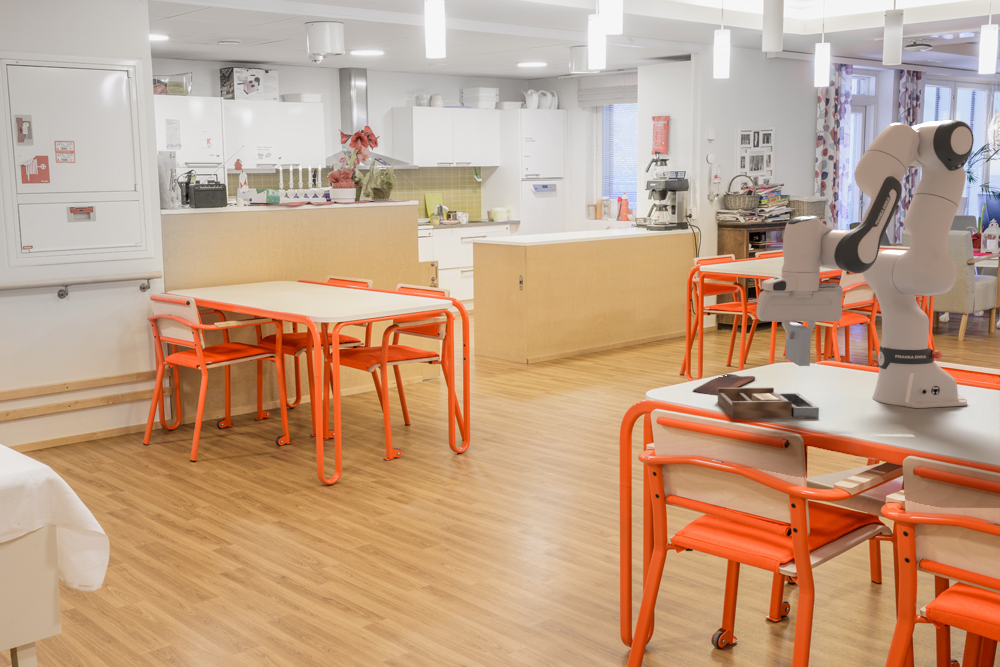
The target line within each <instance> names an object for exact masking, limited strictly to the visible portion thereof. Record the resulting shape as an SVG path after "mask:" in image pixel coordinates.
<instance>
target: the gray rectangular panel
mask: <svg viewBox="0 0 1000 667" xmlns="http://www.w3.org/2000/svg"><path fill="white" fill-rule="evenodd" d="M788 328H789V330H790V331H791V332H794V339H786V338H785V351H784V352H785V354H784V355H785V356H784V358H785V359H787V360H788V361H790V362H792V363H794V364H795V365H797V366H799V367H810V366H811V361H810V360H811V347H812V346H811V343H812V340H811V339H812V331H811V329H810V328H808V326H805V325H803V324H801V323H798V321H790V326H788Z"/></svg>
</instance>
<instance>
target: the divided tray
mask: <svg viewBox="0 0 1000 667" xmlns="http://www.w3.org/2000/svg"><path fill="white" fill-rule="evenodd" d="M774 389H775V387H737V388H718V395H717V403H718V405H719V406H721V407H722V409H723V410H724V409H725V410H726V411H725V410H724V411H725V412H726V413H727V414H728V415H729V416H730V418H731V419H792V417H791V413H792V404H793V403H792V402H791V401H785V400H783V399H782V398H781V397H779V396H778V395H777V394H776V393H777V392H774V391H775V390H774ZM762 393H770V394H771V395H773V396H775V397H776V398H778V399H780V401H752V394H762Z"/></svg>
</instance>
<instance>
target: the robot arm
mask: <svg viewBox="0 0 1000 667" xmlns="http://www.w3.org/2000/svg"><path fill="white" fill-rule="evenodd" d="M974 142H975V141H974V134H973V130H972V128H971V127H970V125H969V124H968V123H966V122H964V121H962V120H956V119H947V120H935V121H927V122H926V121H925V122H923V123H919V124H915V125H909V124H906V123H904V122H903V123H902V122H893V123H891V124H888V125H887V126H885V128H883V129H882V130H881V131H880V133H878V134H877V135H876V137H875V138H874V139H873V141H871V143H870V145H869V146H868V147H867V149H866V150H865V152H864V153H863V155H862V156H861V158H860V159H859V161H858V163H857V164H856V165H857V166H856V167H855V170H854V180H855V183H856V185H857V187H858V188H859V190H860V191H861V192H862V193H863V194H864V195H866V196H867V197H868V198H871V200H870V202H869V205H868V207H867V209H866V211H865V213H864V216H863V217H862V220H861V221H860V223H859V225H857V226H856V227H855V228H853V229H852V228H851V229H849V230H847V229H845V230H843V229H836V228H835V229H834V228H833V227H830V226H828V225H827V224H825V223H824V222H823V221H821V220H820V218H819V216H816V215H804V216H802V215H801V216H795V217H793V218H791V219H789V220H788V221H787V222H786V224H785V227H784V231H783V239H782V240H783V241H782V256H783V257H782V258H783V263H782V264H783V265H782V268H781V274H780V275H777V276H774V277H772V278H768V279H765V280H763V281H762V282H761V288H762V289H763V290H761V292H760V293H759V295H758V298H757V304H756V312H755V314H756V315H755V316H756V318H757V319H758V320H759V321H761V322H781V326H782V328H783V329H784V331H785V340H786V339H794V332H791V331H790V330H789V328H788V326H790V322H807V323H806V325H808V326H807V327H808V328H810V329H811V332H813V330H814V328H815V327H816V323H817V322H839V321H840V320H841V319H842V318H843V305H842V298H843V295H844V294H843V292H844V290H843V287H842V286H841V285H839V284H838V283H836V282H830V283H829V282H828V283H827V282H820V276H821V275H820V272H821V269H820V268H825V269H831V270H839V271H840V270H841V271H845V272H848V273H854V274H861V273H862V275H863V280H864V281H865V282H866V284H867V285H868V286H869V287H870V289H872V290H873V293H874V295H875V296H876V299H877V303H878V305H879V309H880V313H881V344H880V346H879V350H878V367H879V370H878V376H877V381H876V384H875V388H874V392H873V394H872V396H871V398H872V400H873V401H876V402H879V403H883V404H886V405H887V404H888V405H893V406H894V405H895V406H901V407H902V406H903V407H907V408H913V409H925V408H928V409H929V408H939V407H940V408H942V407H945V408H946V407H962V406H963V407H964V406H967V405H968V400H967V399H966V398H965V397H963V396H961V395H959V392H958V384H957V382H956V381H957V380H956V379H955V378H954V377H953V376H952V375H951V374H950V373H948V372H947V371H946V370H945V369H943V368H942V367H941V366H940V365H938V364H937V363H936V362H935V359H937V360H940V359H941V358H942V357H943V352H941V351H940V350H937V349H935V350H933V349H932V348H930V347H929V333H930V319H929V316H928V315H927V313H926V312H925V311H924V310H922V309H921V308H920V305H919V304H918V302H917V299H916V295H917V296H924V297H929V296H930V297H931V296H936V295H937V296H938V295H944V294H946V293H948V292H950V291H951V290H952V289H953V287H954V286H955V284H956V282H957V279H958V268H957V265H956V263H955V261H954V259H952V258H951V255H950V253H949V248H948V244H949V243H948V242H949V237H950V236H949V235H950V231H951V228H952V225H953V222H954V219H955V216H956V214H957V211H958V208H959V206H960V203H961V201H962V197H963V193H964V189H965V185H966V177H967V175H966V170H965V169H964V167H963V166H964V165H965V164H966V163H967V162H968V160H969V157H970V156H971V152H972V149H973V147H974ZM914 167H917V168H920V170H921V176H920V177H921V179H920V181H919V182H918V184H917V186H916V188H915V190H914V193H913V196H912V198H911V200H910V204H909V207H908V209H907V210H906V211H907V212H906V214H905V216H904V220H903V227H904V230H905V231H906V233H907V234H908V235H909V236H910V246H909V248H908V249H907V250H903V249H901V250H899V249H886V250H880V247H881V245H882V241H883V238H884V237H885V236H884V235H885V234H886V231H887V229H888V227H889V226H890V225H889V224H890V222H891V221H892V218H893V216H894V214H895V211H896V210H897V208H898V206H899V203H900V201H901V197H902V192H903V187H902V183H901V182H902V180H903V178H904V176H905V175H906V173H907V171H908V170H909V169H910V168H914Z"/></svg>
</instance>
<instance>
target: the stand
mask: <svg viewBox="0 0 1000 667" xmlns="http://www.w3.org/2000/svg"><path fill="white" fill-rule="evenodd" d="M775 393H776V394H777V395H778V396H779V397H781V398H782V399H783V400H785V401H791V402H792V413H791V418H793V419H819V415H820V414H819V412H820V407H819V406H817V405H816V404H815V403H813V402H811V401H810V400H809V399H807V398H806V397H804V396H803V395H802V394H800V393H799V392H779V393H778V392H775Z"/></svg>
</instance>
